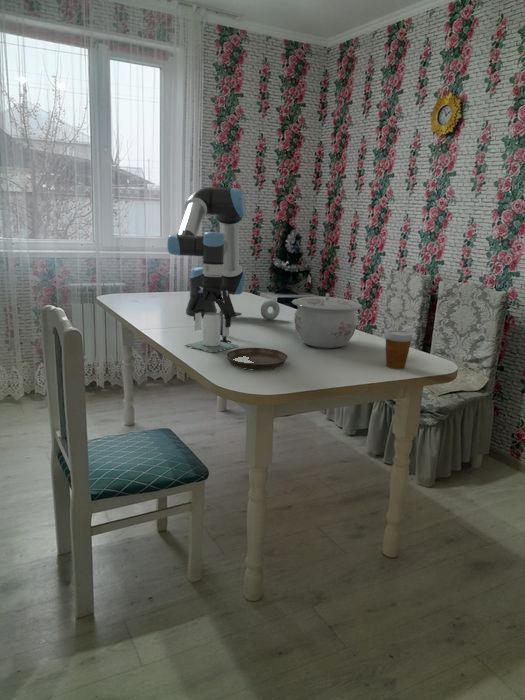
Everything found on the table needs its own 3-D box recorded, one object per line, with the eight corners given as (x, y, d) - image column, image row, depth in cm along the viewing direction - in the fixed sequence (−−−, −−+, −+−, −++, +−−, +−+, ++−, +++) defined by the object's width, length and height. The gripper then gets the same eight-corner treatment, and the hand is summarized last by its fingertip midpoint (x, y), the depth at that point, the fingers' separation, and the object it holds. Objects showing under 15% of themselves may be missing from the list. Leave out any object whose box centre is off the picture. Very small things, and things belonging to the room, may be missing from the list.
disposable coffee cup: (377, 362, 190) (381, 329, 187) (404, 363, 191) (407, 330, 188) (386, 370, 181) (389, 335, 178) (413, 370, 182) (417, 336, 179)
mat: (184, 346, 200) (184, 344, 199) (209, 340, 211) (209, 339, 211) (213, 353, 192) (213, 351, 192) (237, 346, 203) (237, 345, 203)
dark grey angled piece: (198, 338, 214) (198, 312, 212) (220, 333, 225) (220, 308, 223) (225, 343, 207) (225, 317, 204) (246, 338, 218) (247, 313, 215)
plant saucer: (239, 375, 168) (239, 364, 168) (217, 358, 187) (218, 349, 186) (297, 370, 177) (298, 360, 176) (271, 354, 195) (272, 346, 194)
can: (199, 345, 199) (200, 313, 197) (207, 342, 205) (207, 311, 202) (215, 347, 197) (216, 315, 194) (222, 344, 203) (223, 313, 200)
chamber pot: (313, 355, 195) (317, 299, 190) (276, 339, 219) (279, 288, 214) (374, 350, 208) (379, 297, 203) (333, 335, 232) (337, 287, 227)
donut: (277, 319, 262) (278, 298, 260) (280, 320, 259) (281, 299, 257) (258, 319, 258) (259, 299, 255) (262, 321, 255) (263, 300, 252)
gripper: (180, 272, 199) (180, 328, 204) (233, 279, 185) (231, 339, 190) (194, 271, 205) (193, 326, 210) (246, 278, 191) (244, 336, 196)
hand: (211, 332), depth 200 cm, fingers open, 13 cm apart
